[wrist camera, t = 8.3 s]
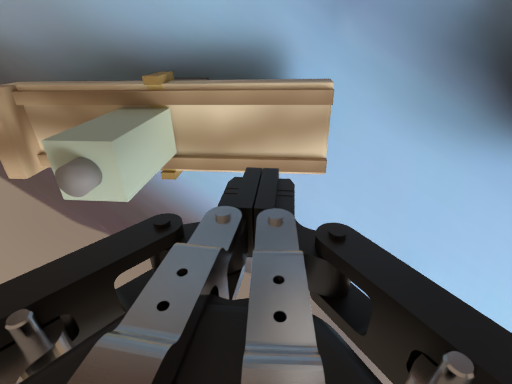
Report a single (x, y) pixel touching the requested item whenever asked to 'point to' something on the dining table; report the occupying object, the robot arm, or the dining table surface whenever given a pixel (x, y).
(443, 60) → the dining table surface
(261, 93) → the beam
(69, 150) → the block
